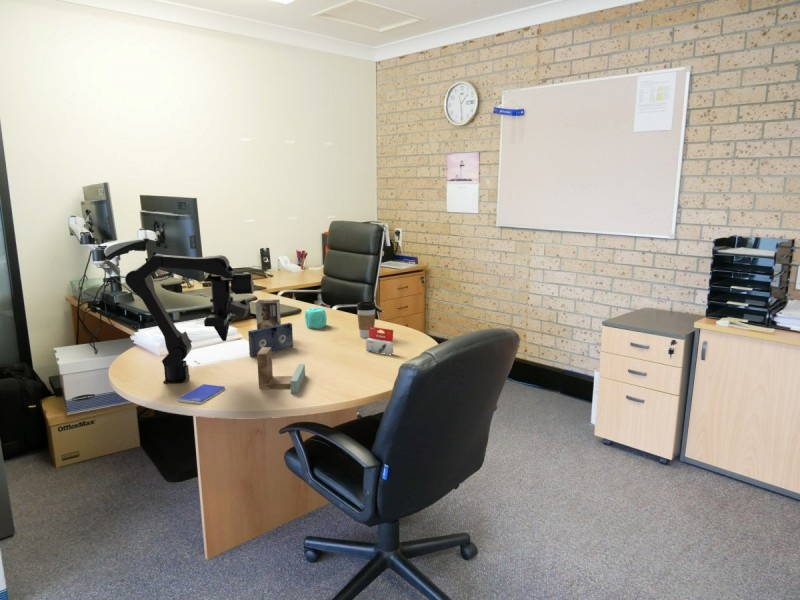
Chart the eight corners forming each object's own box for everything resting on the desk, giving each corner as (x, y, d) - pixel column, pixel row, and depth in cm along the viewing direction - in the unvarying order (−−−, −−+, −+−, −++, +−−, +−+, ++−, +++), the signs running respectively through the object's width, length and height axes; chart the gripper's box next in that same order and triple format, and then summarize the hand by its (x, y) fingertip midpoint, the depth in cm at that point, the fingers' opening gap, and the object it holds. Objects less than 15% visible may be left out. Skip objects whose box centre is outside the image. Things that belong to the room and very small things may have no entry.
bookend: (258, 388, 172) (256, 353, 170) (263, 380, 179) (262, 347, 177) (293, 388, 172) (291, 353, 170) (297, 380, 179) (295, 347, 177)
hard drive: (200, 400, 159) (225, 386, 171) (177, 397, 162) (202, 383, 173) (201, 405, 160) (225, 391, 171) (177, 402, 162) (203, 388, 174)
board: (290, 393, 168) (290, 381, 167) (299, 375, 184) (298, 364, 183) (297, 393, 168) (296, 381, 167) (305, 375, 184) (304, 364, 183)
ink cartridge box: (390, 356, 205) (390, 331, 203) (365, 351, 210) (365, 327, 208) (393, 354, 207) (393, 329, 205) (369, 350, 212) (368, 326, 210)
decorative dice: (305, 325, 249) (304, 308, 247) (321, 323, 252) (321, 306, 251) (309, 329, 242) (309, 312, 240) (326, 327, 245) (326, 310, 244)
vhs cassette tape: (290, 346, 217) (289, 322, 215) (294, 347, 215) (293, 323, 213) (248, 356, 205) (247, 330, 202) (252, 357, 203) (251, 332, 200)
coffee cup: (353, 337, 229) (352, 303, 226) (361, 332, 236) (361, 299, 233) (371, 340, 226) (371, 305, 223) (379, 334, 233) (379, 301, 230)
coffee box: (281, 335, 232) (280, 299, 228) (279, 340, 225) (277, 302, 222) (260, 336, 231) (258, 299, 228) (257, 340, 225) (255, 302, 222)
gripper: (238, 300, 166) (241, 349, 170) (253, 289, 185) (255, 332, 188) (201, 300, 166) (205, 349, 169) (220, 289, 184) (223, 333, 188)
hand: (224, 340), depth 179 cm, fingers closed
